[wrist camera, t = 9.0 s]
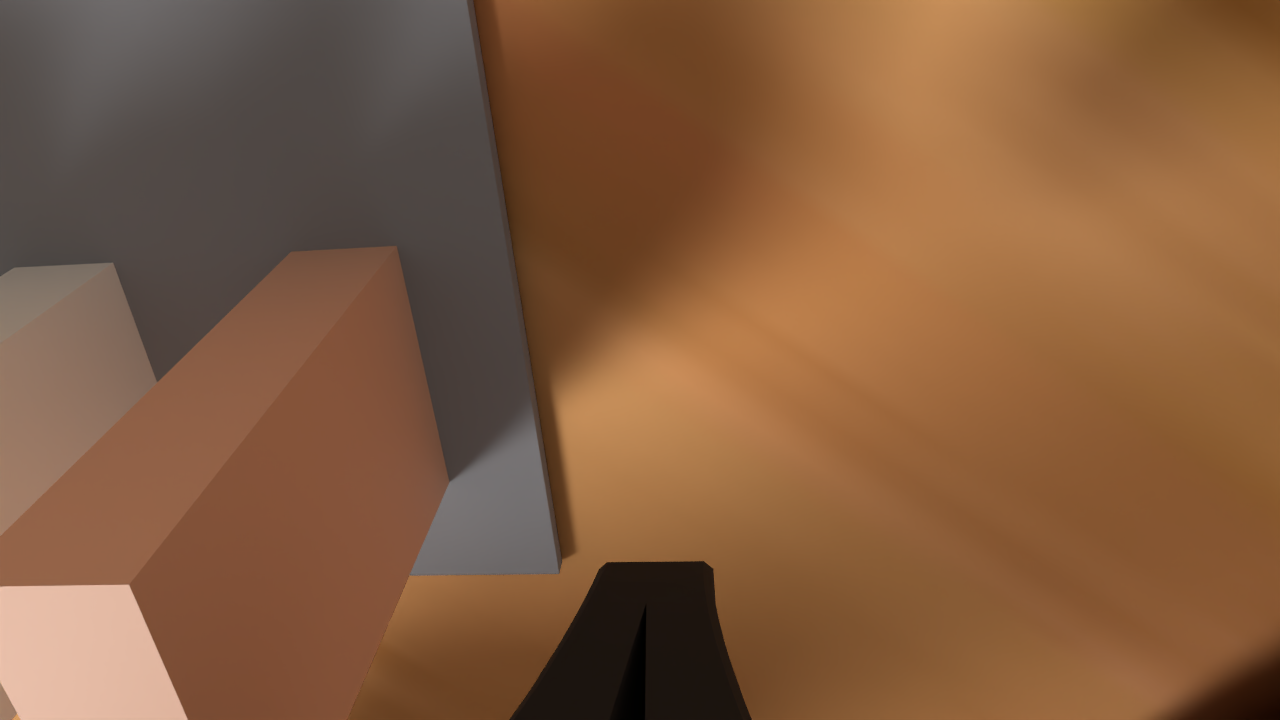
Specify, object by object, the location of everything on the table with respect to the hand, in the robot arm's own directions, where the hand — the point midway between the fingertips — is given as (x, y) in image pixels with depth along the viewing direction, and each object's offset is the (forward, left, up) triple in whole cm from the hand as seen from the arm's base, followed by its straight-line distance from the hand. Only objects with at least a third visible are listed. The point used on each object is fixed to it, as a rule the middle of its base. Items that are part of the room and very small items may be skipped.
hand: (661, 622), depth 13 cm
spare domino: (-3, +5, -7) cm, 9 cm away
